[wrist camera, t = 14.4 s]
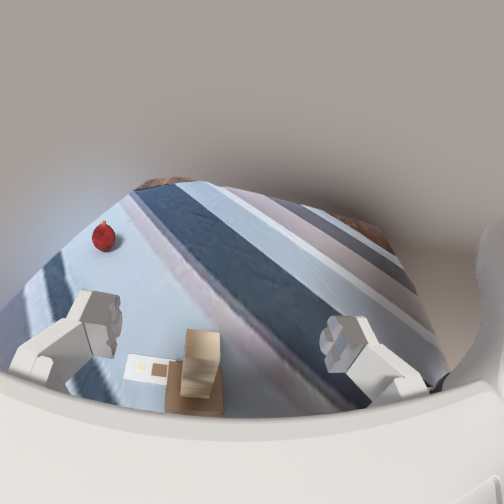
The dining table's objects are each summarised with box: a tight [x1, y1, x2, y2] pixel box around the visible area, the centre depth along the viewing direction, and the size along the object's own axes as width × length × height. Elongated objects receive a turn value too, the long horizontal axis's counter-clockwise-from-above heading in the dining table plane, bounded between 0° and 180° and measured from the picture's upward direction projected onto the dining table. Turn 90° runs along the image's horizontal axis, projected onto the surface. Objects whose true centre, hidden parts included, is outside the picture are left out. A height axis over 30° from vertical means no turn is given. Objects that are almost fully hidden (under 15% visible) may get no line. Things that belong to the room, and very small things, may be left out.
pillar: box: [180, 329, 220, 399], centre depth 35 cm, size 4×4×10 cm
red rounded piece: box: [92, 221, 115, 251], centre depth 61 cm, size 6×6×8 cm
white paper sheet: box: [124, 353, 176, 385], centre depth 41 cm, size 8×5×1 cm, turn 96°
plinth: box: [165, 361, 224, 417], centre depth 38 cm, size 8×8×3 cm
